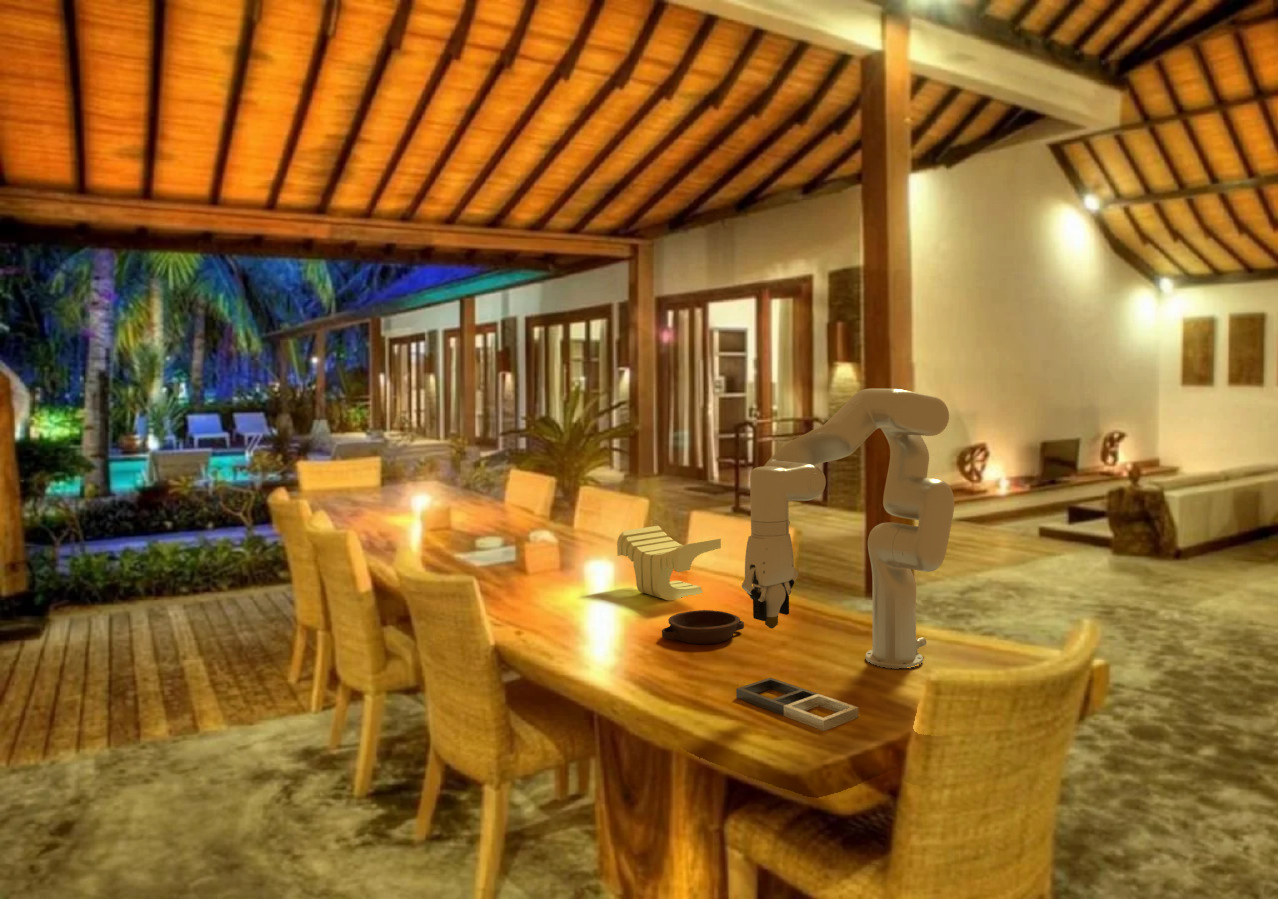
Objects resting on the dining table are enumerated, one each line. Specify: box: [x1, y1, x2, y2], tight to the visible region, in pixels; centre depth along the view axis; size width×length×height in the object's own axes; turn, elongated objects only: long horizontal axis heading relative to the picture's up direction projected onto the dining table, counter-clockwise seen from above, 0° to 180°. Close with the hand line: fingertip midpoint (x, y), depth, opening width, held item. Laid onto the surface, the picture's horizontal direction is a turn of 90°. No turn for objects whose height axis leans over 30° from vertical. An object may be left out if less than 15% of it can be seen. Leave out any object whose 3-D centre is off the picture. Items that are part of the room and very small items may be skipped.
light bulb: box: [758, 584, 786, 629], centre depth 186 cm, size 6×6×10 cm
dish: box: [661, 609, 745, 645], centre depth 231 cm, size 18×22×5 cm
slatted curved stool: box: [616, 525, 722, 601], centre depth 275 cm, size 30×16×18 cm, turn 36°
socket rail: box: [735, 677, 859, 732], centre depth 182 cm, size 10×23×2 cm, turn 38°
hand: (771, 615), depth 186 cm, fingers closed on light bulb, 5 cm apart
